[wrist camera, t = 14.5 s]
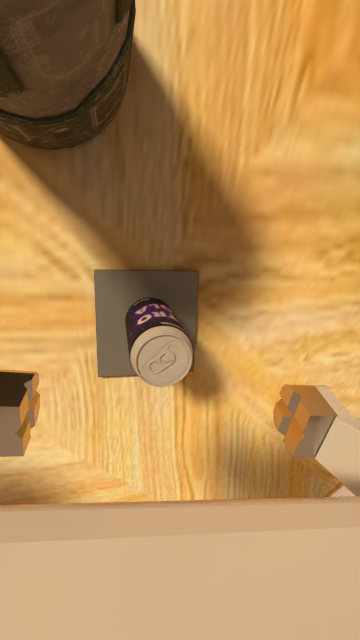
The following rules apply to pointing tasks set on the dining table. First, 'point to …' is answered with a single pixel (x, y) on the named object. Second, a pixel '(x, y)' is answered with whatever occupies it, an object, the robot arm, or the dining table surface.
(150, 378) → the beverage can
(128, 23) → the canister
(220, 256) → the dining table surface
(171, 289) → the mat
